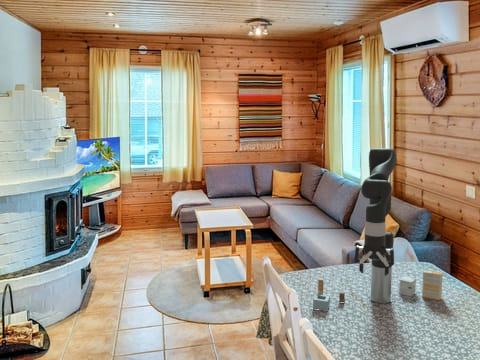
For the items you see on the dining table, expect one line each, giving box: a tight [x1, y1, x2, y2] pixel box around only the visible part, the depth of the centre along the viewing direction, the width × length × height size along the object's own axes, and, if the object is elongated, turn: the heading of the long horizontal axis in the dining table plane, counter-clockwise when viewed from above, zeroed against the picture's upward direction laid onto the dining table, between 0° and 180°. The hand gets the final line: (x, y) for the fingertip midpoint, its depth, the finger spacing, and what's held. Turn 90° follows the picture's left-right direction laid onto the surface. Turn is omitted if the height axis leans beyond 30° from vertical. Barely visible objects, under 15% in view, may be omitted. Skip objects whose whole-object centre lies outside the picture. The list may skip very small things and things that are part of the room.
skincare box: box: [398, 276, 417, 297], centre depth 219 cm, size 6×6×7 cm
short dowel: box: [338, 291, 346, 303], centre depth 210 cm, size 2×2×4 cm
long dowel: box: [317, 278, 324, 295], centre depth 213 cm, size 2×2×10 cm
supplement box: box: [421, 268, 444, 301], centre depth 213 cm, size 8×5×13 cm, turn 58°
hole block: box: [312, 293, 331, 311], centre depth 204 cm, size 6×6×5 cm
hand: (373, 273), depth 169 cm, fingers open, 8 cm apart
